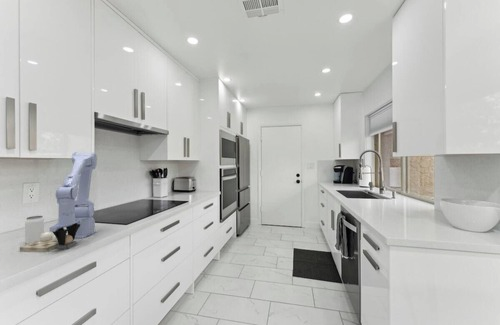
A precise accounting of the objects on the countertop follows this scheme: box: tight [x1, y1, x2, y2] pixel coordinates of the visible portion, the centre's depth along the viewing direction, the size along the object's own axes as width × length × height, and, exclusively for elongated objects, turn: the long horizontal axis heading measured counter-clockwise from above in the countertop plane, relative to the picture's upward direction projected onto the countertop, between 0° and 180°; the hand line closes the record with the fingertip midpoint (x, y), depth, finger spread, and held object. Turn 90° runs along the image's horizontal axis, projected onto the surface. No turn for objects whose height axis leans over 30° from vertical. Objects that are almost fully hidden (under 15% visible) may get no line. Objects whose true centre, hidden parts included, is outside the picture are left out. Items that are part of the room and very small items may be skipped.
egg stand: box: [56, 240, 77, 250], centre depth 99 cm, size 5×5×2 cm
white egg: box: [40, 231, 54, 241], centre depth 103 cm, size 4×4×4 cm
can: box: [24, 215, 45, 245], centre depth 105 cm, size 6×6×12 cm
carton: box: [19, 239, 59, 253], centre depth 100 cm, size 12×12×2 cm
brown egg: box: [64, 234, 74, 245], centre depth 99 cm, size 4×4×4 cm
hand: (66, 242), depth 99 cm, fingers closed on brown egg, 4 cm apart
